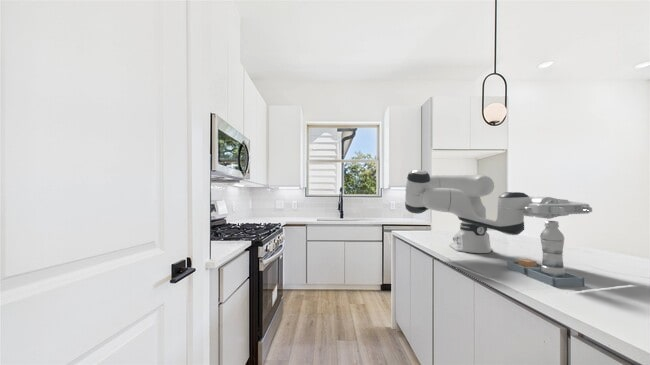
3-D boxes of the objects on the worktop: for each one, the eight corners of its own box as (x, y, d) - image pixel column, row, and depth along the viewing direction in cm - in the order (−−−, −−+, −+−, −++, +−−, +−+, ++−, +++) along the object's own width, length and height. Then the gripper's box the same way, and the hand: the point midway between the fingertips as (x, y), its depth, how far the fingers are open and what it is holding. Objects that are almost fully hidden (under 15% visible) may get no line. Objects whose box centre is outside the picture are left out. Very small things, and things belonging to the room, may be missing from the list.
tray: (526, 277, 99) (526, 268, 99) (554, 276, 100) (553, 268, 100) (553, 288, 88) (553, 278, 88) (584, 287, 88) (584, 277, 89)
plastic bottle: (556, 277, 97) (554, 220, 98) (571, 283, 90) (569, 222, 91) (536, 276, 98) (534, 220, 98) (549, 283, 91) (547, 222, 92)
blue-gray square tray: (507, 269, 110) (507, 261, 110) (529, 268, 110) (529, 260, 110) (525, 276, 101) (525, 267, 101) (549, 275, 101) (549, 267, 101)
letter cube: (518, 269, 107) (518, 259, 107) (527, 268, 108) (526, 258, 108) (528, 272, 103) (527, 261, 103) (536, 271, 104) (536, 261, 104)
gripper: (520, 200, 113) (549, 201, 99) (568, 199, 114) (604, 200, 100) (521, 215, 113) (550, 219, 99) (569, 215, 114) (604, 218, 100)
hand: (577, 209), depth 100 cm, fingers open, 8 cm apart
